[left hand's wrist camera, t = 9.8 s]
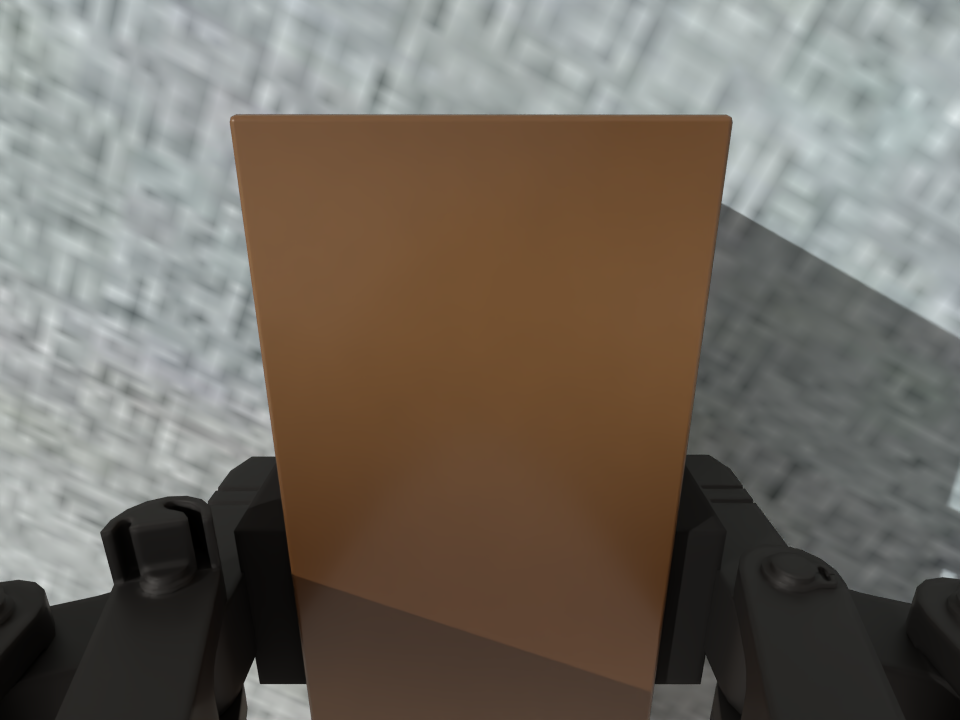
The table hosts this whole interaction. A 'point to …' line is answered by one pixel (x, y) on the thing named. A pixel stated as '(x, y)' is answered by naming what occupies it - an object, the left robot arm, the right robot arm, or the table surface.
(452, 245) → the post
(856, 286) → the table surface
